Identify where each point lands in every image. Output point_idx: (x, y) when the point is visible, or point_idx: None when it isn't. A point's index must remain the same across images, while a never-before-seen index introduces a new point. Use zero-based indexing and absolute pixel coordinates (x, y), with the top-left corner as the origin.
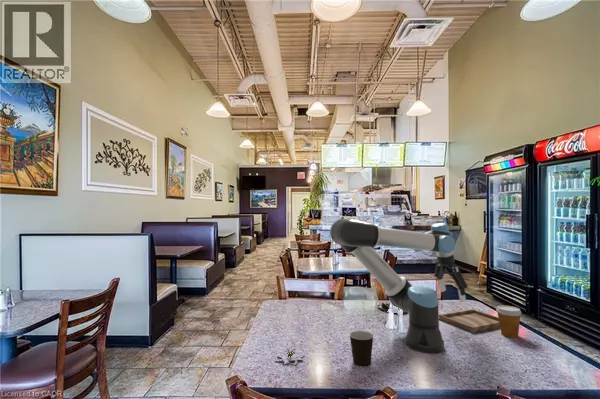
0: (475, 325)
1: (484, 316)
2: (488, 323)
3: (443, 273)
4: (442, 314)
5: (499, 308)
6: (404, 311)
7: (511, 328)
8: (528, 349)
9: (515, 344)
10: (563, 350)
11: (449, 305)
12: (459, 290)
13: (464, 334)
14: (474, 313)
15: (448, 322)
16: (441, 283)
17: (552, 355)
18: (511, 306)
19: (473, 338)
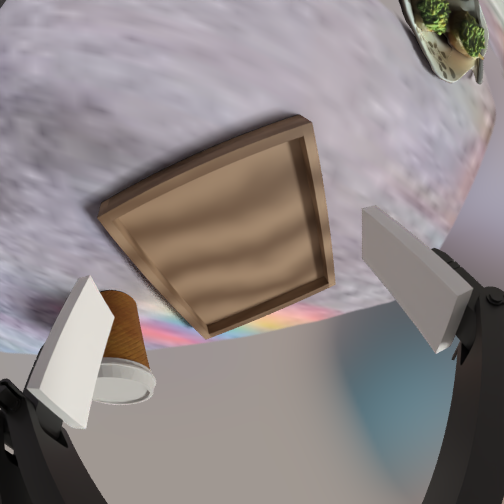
0: (176, 241)
1: (280, 295)
2: (204, 288)
3: (447, 458)
4: (311, 143)
5: (97, 377)
6: (414, 13)
7: None
8: (19, 305)
9: (38, 293)
10: None
11: (413, 233)
12: (37, 374)
13: (78, 162)
14: (315, 277)
15: (238, 138)
16: (416, 279)
17: (11, 328)
18: (143, 400)
19: (40, 187)
